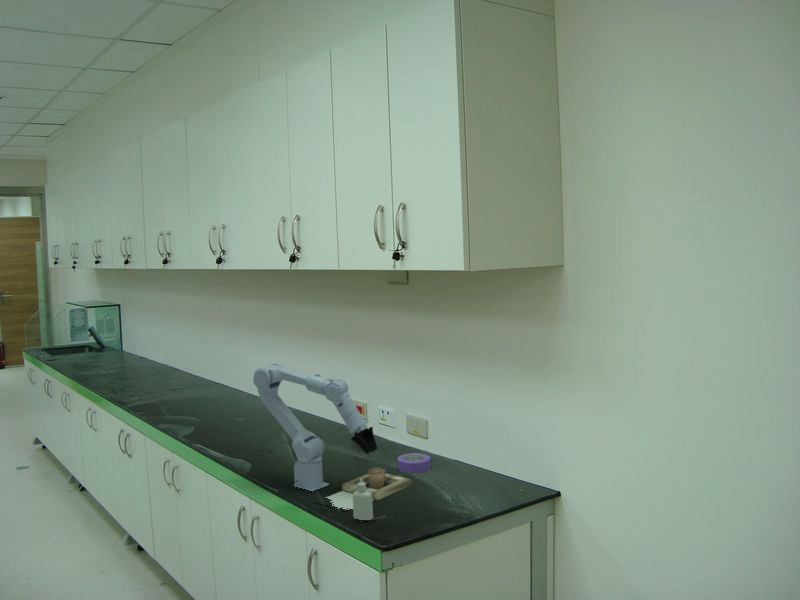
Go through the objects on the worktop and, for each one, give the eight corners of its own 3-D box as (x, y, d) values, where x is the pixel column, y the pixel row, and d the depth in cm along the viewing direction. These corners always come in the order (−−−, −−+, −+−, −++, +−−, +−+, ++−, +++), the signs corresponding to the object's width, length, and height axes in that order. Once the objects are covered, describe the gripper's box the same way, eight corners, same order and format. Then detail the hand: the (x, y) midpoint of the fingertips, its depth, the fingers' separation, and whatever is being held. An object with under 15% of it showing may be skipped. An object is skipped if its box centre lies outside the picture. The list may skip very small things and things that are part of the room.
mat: (314, 503, 218) (314, 502, 218) (342, 491, 227) (342, 490, 227) (346, 512, 209) (346, 511, 209) (373, 500, 218) (373, 499, 218)
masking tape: (434, 463, 253) (433, 453, 252) (426, 474, 241) (426, 463, 241) (402, 462, 256) (402, 452, 255) (394, 472, 245) (393, 462, 244)
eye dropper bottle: (364, 514, 206) (362, 474, 206) (375, 520, 202) (373, 479, 201) (352, 518, 204) (349, 478, 203) (362, 524, 199) (359, 483, 198)
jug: (365, 488, 229) (364, 470, 229) (379, 483, 234) (378, 465, 234) (377, 491, 226) (376, 473, 225) (391, 485, 231) (390, 468, 230)
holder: (342, 490, 228) (341, 484, 228) (375, 476, 240) (375, 471, 240) (378, 500, 218) (377, 493, 218) (411, 485, 230) (410, 479, 230)
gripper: (365, 405, 221) (387, 442, 219) (356, 411, 234) (377, 446, 233) (346, 416, 218) (368, 454, 217) (338, 422, 232) (359, 458, 230)
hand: (372, 451), depth 225 cm, fingers open, 7 cm apart
